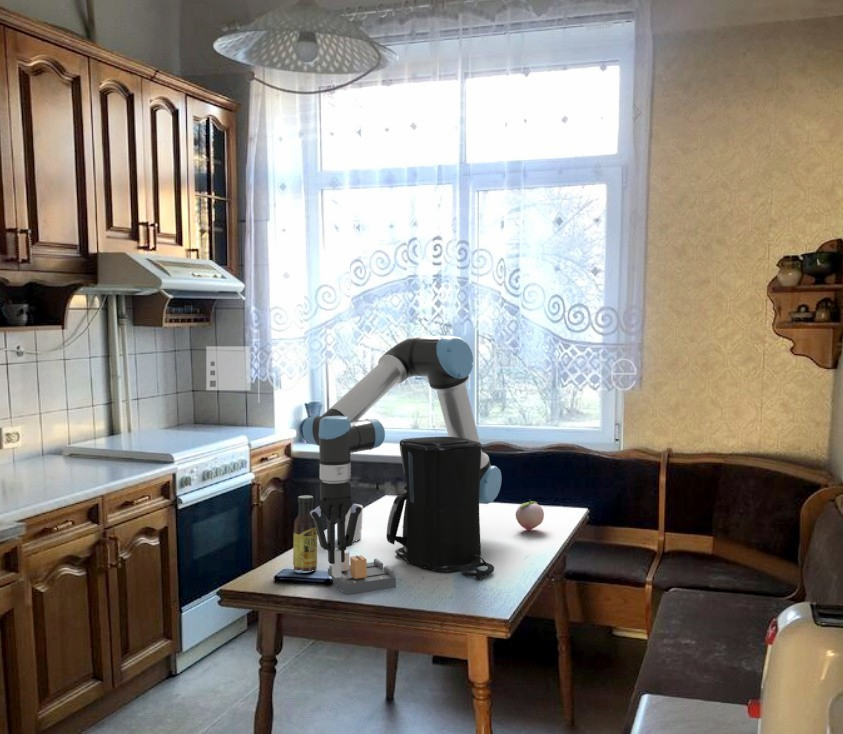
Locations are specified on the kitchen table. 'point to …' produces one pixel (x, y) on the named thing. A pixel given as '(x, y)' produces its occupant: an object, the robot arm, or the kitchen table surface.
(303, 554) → the sauce bottle
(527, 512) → the decorative fruit
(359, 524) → the white cup
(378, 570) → the panel
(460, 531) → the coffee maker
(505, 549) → the kitchen table surface
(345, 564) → the white fader
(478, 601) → the kitchen table surface
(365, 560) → the orange fader
